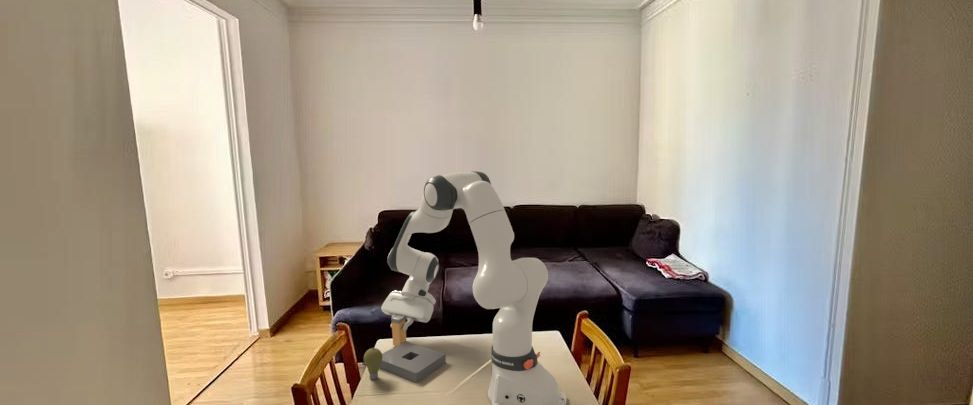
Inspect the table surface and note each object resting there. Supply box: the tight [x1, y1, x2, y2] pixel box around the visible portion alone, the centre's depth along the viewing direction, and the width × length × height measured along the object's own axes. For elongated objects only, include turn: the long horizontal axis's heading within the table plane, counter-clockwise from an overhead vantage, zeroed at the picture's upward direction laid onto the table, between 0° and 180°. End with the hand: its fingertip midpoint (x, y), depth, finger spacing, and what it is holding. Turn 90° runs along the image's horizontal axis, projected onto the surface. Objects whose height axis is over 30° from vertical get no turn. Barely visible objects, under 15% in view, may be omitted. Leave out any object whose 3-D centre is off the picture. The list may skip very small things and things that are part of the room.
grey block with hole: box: [379, 340, 447, 384], centre depth 138 cm, size 18×14×4 cm
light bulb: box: [363, 347, 383, 381], centre depth 130 cm, size 6×6×10 cm
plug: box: [390, 315, 407, 347], centre depth 151 cm, size 3×4×10 cm
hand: (397, 328), depth 151 cm, fingers closed on plug, 3 cm apart
